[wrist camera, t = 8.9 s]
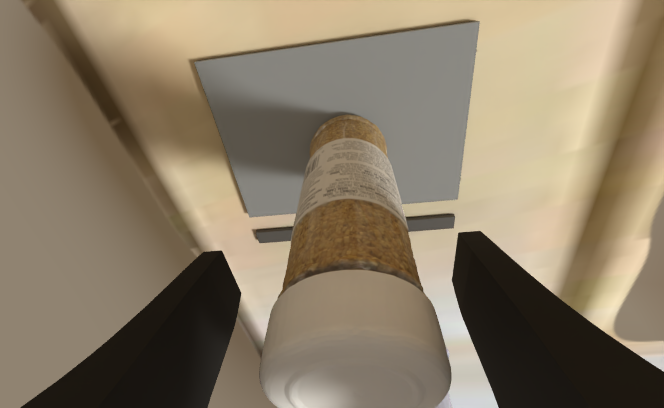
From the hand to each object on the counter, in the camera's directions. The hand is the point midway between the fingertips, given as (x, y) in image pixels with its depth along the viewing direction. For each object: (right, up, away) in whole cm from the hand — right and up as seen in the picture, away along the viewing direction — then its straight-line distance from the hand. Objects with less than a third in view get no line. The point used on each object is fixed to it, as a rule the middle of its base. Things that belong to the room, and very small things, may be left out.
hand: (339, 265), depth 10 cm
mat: (0, +6, +8) cm, 10 cm away
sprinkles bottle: (+1, +5, +9) cm, 10 cm away
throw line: (+1, 0, +12) cm, 12 cm away
